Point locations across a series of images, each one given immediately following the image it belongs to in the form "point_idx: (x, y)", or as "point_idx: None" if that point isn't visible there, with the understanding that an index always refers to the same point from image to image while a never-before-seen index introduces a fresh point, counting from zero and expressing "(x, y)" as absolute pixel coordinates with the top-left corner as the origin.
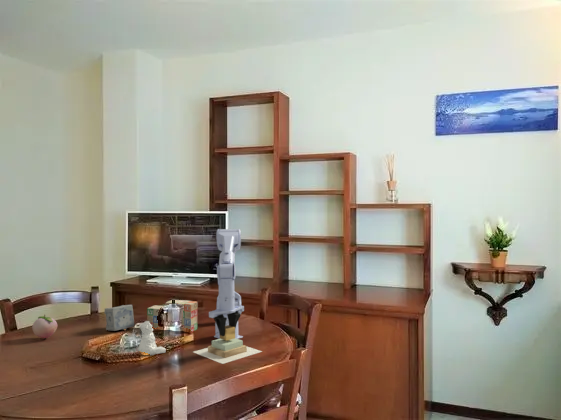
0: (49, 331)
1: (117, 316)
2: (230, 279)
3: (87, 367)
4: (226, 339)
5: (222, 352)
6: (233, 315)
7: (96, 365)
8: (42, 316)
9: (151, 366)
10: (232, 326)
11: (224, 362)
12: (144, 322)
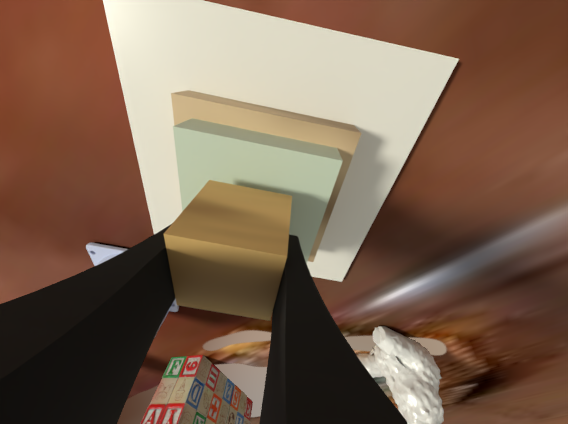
0: None
1: None
2: None
3: (539, 377)
4: (291, 199)
5: (352, 154)
6: (42, 417)
7: (521, 373)
8: None
9: (519, 297)
10: (168, 266)
11: (430, 66)
12: None
